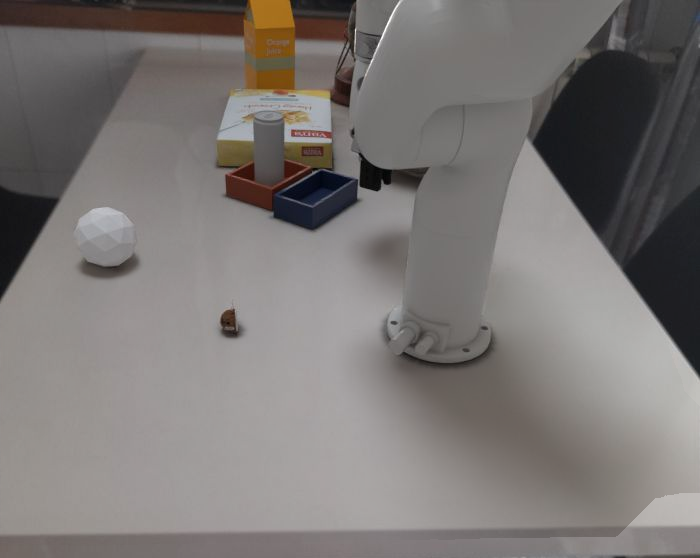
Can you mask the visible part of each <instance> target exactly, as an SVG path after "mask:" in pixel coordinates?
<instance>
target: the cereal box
mask: <svg viewBox="0 0 700 558" xmlns="http://www.w3.org/2000/svg"><path fill="white" fill-rule="evenodd" d="M331 107H332V105H331V99H330V91H329V89H295V90H273V89H246V88H232V89H231V91H230V93H229V96H228V100H227V104H226V107H225V110H224V113H223V116H222V120H221V124H220V126H219V129H218V132H217V135H216V140H215V142H216V155H217V164H218V166H219V167H241V166H243V165H245V164H247V163H250V162H252V161H254V132H253V119H254V114H255V113H256V112H258V111H264V110H272V111H278V112H280V113H282V114H283V116H284V117H283V118H284V121H285V132H284V159H287V160H290V161H294V162H297V163H300V164H304V165H307V166H310V167H312V169H320V168H322V169H331V168H333V129H332V109H331Z"/></svg>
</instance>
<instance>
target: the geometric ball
mask: <svg viewBox="0 0 700 558" xmlns="http://www.w3.org/2000/svg"><path fill="white" fill-rule="evenodd" d="M73 237H74V239H75V243H76V246H77V249H78V251H79V252H80V254H81V255H82V256H83V258H84V259H85V261H86V262H88V263H91V264H94V265H98V266H100V267H103V268H107V267H116V266H117V267H118V266H120V265H121V264H123V263H124V262H126V261H127V260H128V259H130V258H131V257H132V256H133V254H134V251H135V249H136V246H137V243H138V237H137V232H136V228H135V225H134V224H133V222H131V220H130V219H129V218H128V216H127V215H126V214H125V213H124V212H121V211H118V210H117V209H114V208H111V207H110V206H105V207H96V208H93V209H91V210H89V211H88V212H87V213H85V214H84V215H83V216H81V217H80V218H78V222H77V224H76V227H75V229H74V232H73Z"/></svg>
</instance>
